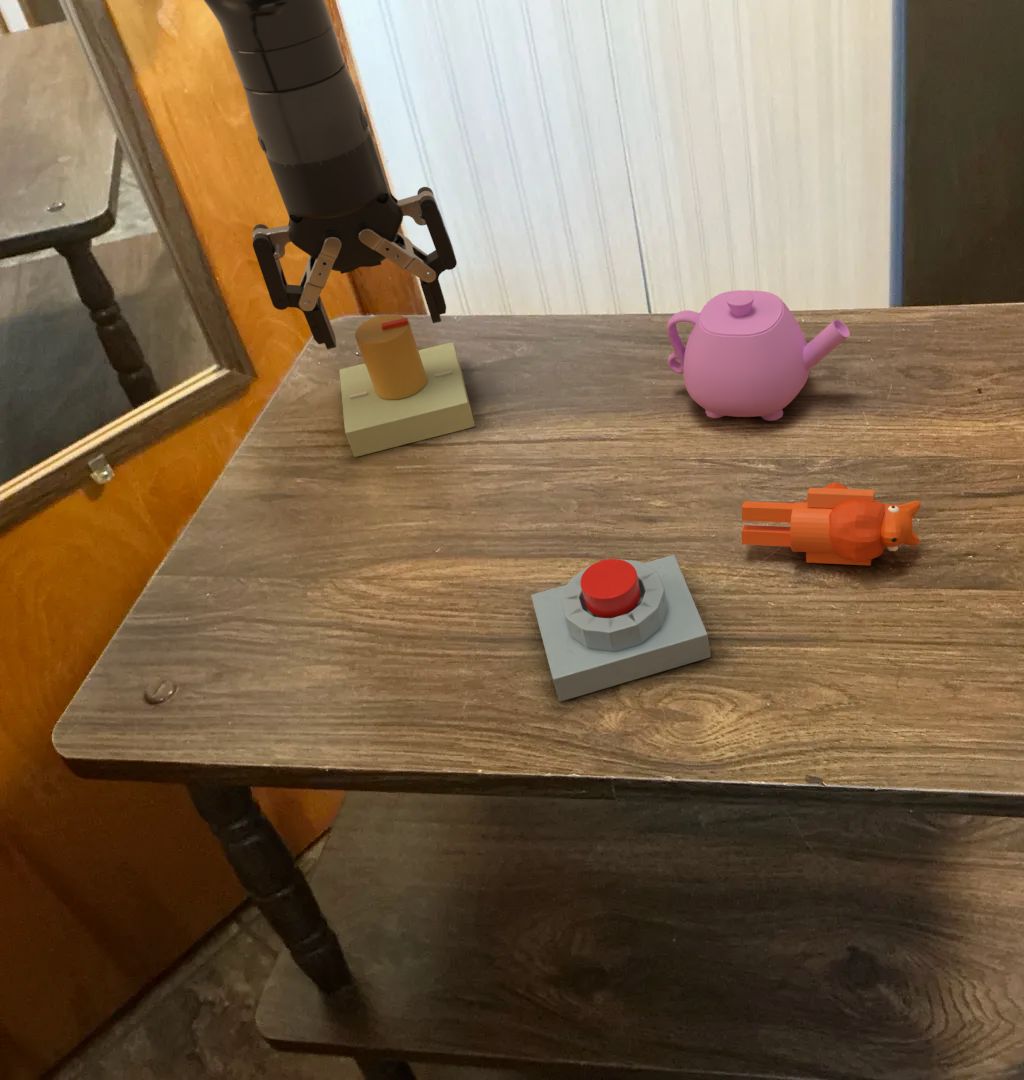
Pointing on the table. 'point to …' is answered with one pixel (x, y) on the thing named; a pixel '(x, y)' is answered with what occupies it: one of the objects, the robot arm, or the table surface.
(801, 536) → the orange fox minifigure
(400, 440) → the plate
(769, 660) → the table surface
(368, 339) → the lock knob
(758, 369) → the teapot
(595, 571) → the bell button
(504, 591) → the table surface
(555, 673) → the grey button base
